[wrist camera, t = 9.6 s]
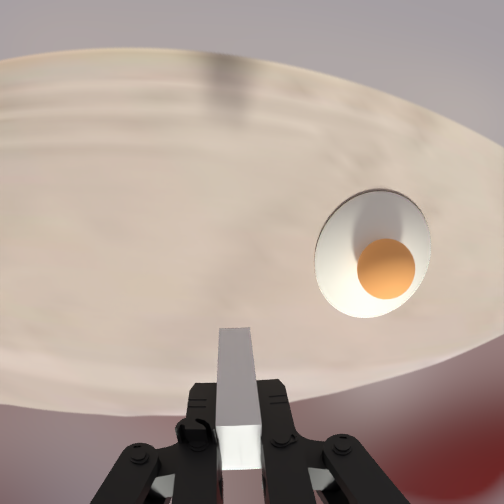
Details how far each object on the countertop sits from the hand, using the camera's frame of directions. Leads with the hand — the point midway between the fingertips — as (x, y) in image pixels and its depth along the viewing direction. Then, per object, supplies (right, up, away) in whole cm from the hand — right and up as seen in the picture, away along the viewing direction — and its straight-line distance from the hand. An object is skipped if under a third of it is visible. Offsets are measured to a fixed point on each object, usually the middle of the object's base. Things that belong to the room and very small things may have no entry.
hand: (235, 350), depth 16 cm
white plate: (+13, +4, +14) cm, 20 cm away
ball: (+13, +3, +12) cm, 18 cm away
